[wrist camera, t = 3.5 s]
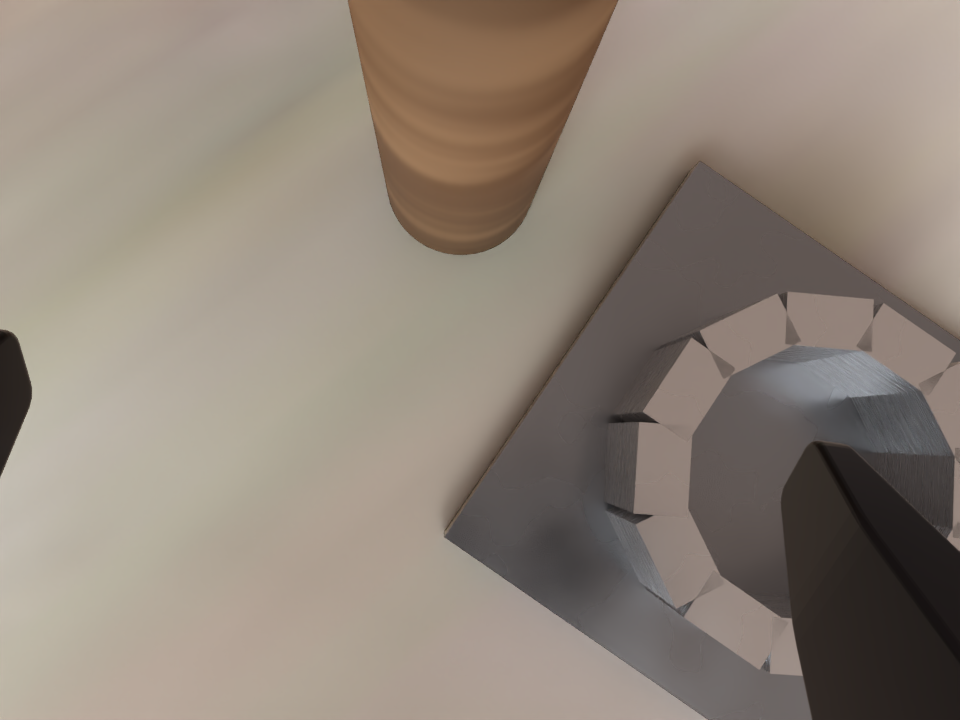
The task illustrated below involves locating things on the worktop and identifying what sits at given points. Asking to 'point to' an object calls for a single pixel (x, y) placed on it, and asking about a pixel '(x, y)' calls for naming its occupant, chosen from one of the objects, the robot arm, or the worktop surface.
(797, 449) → the bracket
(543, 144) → the brown wooden cylinder
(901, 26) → the worktop surface
